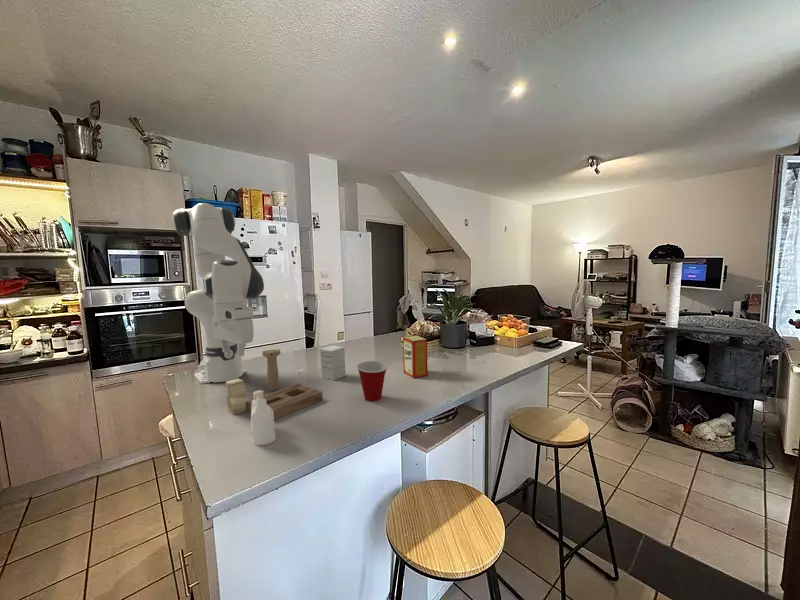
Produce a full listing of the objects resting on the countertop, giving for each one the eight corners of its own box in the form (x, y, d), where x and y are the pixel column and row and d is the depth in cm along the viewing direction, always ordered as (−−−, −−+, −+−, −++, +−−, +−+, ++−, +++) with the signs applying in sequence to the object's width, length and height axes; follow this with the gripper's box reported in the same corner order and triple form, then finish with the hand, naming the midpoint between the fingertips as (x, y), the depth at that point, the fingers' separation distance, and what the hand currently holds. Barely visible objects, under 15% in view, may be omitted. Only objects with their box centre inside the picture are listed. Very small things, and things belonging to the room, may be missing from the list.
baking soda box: (403, 372, 143) (402, 336, 142) (416, 370, 146) (416, 334, 144) (413, 378, 135) (412, 340, 133) (427, 376, 137) (426, 338, 136)
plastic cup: (372, 407, 107) (371, 371, 106) (351, 399, 114) (350, 365, 113) (395, 397, 115) (394, 364, 114) (374, 390, 122) (373, 358, 121)
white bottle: (250, 434, 91) (247, 396, 90) (250, 426, 96) (248, 390, 95) (271, 430, 93) (268, 393, 92) (270, 422, 98) (268, 387, 97)
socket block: (246, 410, 107) (245, 401, 107) (298, 391, 123) (297, 383, 123) (269, 421, 99) (269, 411, 99) (322, 399, 115) (322, 391, 114)
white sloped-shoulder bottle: (277, 394, 88) (261, 402, 83) (280, 437, 89) (264, 447, 84) (261, 391, 91) (244, 399, 85) (263, 433, 92) (247, 443, 87)
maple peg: (228, 411, 107) (225, 381, 106) (240, 407, 110) (238, 378, 109) (233, 414, 104) (231, 384, 103) (246, 410, 107) (244, 380, 106)
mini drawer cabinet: (334, 373, 144) (332, 345, 143) (346, 376, 140) (344, 347, 139) (321, 377, 139) (319, 348, 137) (333, 381, 134) (331, 350, 133)
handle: (282, 390, 125) (280, 351, 124) (264, 392, 123) (262, 353, 121) (282, 386, 130) (280, 348, 128) (264, 388, 127) (262, 350, 126)
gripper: (205, 310, 108) (208, 351, 109) (235, 314, 95) (238, 360, 97) (225, 308, 113) (228, 347, 114) (256, 311, 100) (259, 356, 102)
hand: (233, 353), depth 105 cm, fingers open, 8 cm apart
